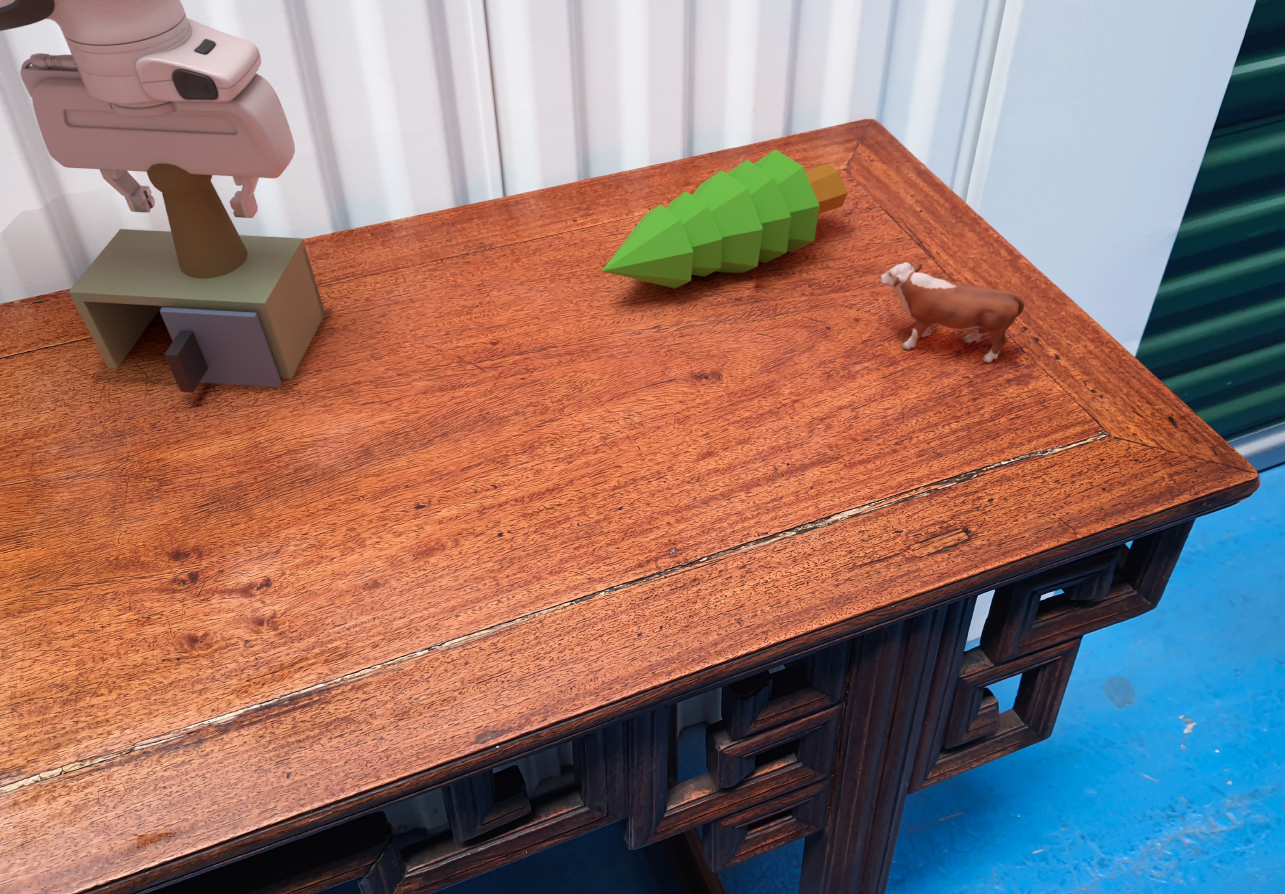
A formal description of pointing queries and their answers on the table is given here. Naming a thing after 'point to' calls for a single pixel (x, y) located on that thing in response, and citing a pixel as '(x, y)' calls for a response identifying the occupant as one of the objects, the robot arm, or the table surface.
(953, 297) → the bull figurine
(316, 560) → the table surface
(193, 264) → the cork
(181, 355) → the slide door
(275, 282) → the cupboard
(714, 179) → the decorative tree
